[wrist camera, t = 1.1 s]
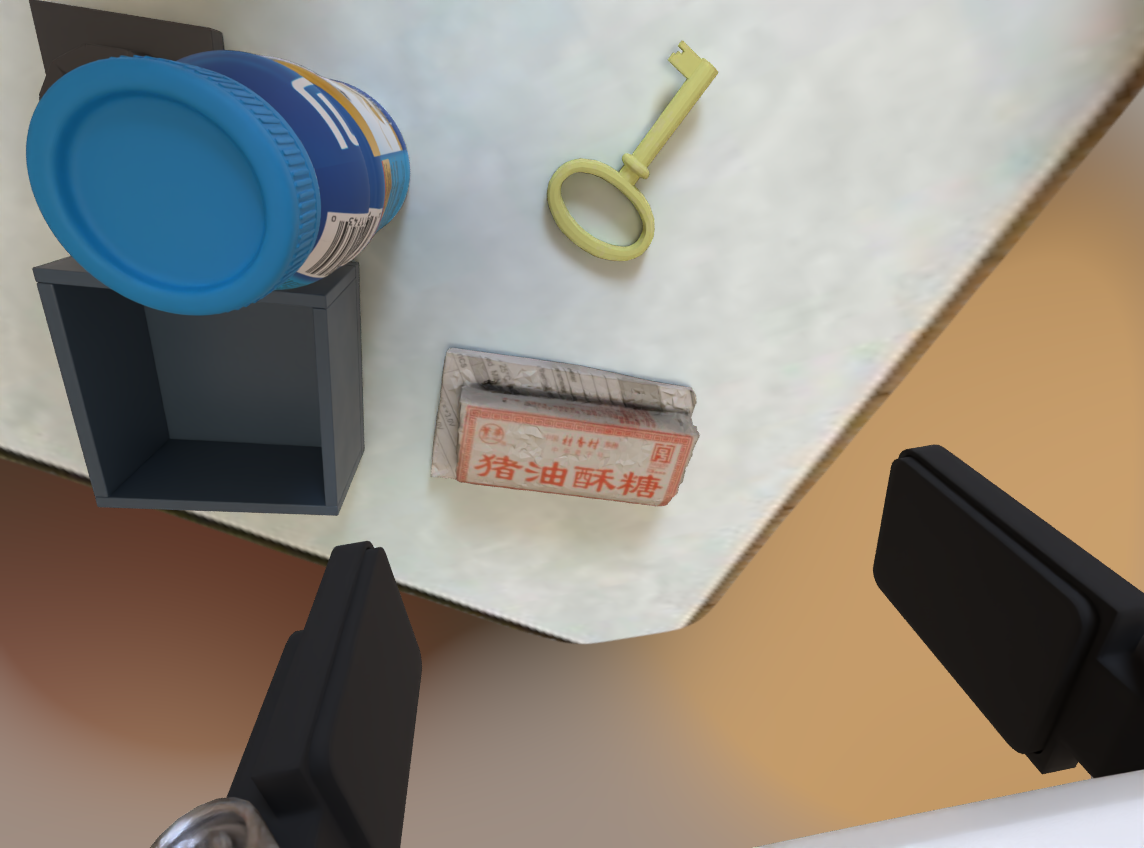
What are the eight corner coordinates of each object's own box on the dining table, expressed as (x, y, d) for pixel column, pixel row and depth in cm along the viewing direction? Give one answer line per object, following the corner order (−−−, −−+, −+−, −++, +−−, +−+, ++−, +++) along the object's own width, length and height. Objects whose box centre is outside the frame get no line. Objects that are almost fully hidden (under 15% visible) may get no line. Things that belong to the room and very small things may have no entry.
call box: (47, 4, 29) (-2, -10, 26) (222, 32, 30) (194, 22, 27) (93, 215, 33) (56, 223, 30) (244, 231, 34) (222, 240, 32)
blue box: (127, 238, 34) (31, 267, 27) (358, 262, 36) (325, 295, 29) (167, 440, 40) (97, 507, 33) (364, 450, 42) (338, 516, 35)
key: (714, 61, 33) (727, 57, 31) (637, 268, 38) (644, 276, 36) (597, 10, 32) (603, 3, 30) (532, 235, 36) (534, 241, 35)
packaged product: (718, 411, 38) (674, 532, 42) (695, 382, 43) (658, 495, 47) (440, 369, 35) (423, 506, 39) (446, 342, 39) (430, 468, 43)
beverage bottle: (294, 250, 35) (91, 373, 17) (233, 92, 31) (-108, 43, 14) (431, 224, 35) (368, 318, 18) (388, 63, 31) (252, -21, 14)
